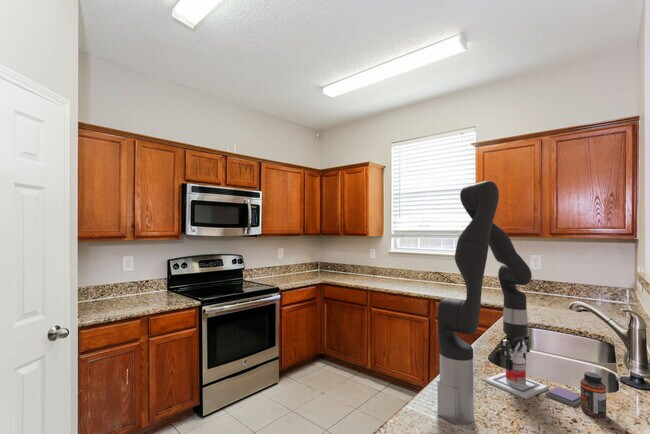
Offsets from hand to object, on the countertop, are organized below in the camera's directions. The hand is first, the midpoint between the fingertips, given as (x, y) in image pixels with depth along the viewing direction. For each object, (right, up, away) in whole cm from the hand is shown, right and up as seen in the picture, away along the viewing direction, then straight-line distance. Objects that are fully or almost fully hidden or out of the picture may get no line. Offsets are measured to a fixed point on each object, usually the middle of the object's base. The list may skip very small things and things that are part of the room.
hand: (515, 367), depth 114 cm
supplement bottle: (+13, -6, -17) cm, 22 cm away
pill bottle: (0, -5, 0) cm, 5 cm away
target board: (0, -6, 0) cm, 6 cm away
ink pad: (+11, -6, -9) cm, 15 cm away
